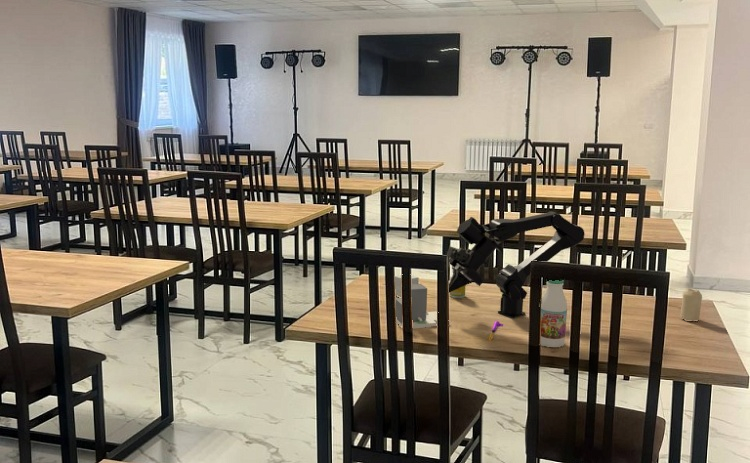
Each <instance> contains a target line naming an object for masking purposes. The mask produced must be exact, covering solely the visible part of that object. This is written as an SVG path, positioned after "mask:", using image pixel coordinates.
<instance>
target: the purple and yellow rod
mask: <svg viewBox="0 0 750 463" xmlns="http://www.w3.org/2000/svg"><path fill="white" fill-rule="evenodd" d="M503 326H504V324H502V323H500V321H497V320H496V321H494V324H493V326H492V329H491V333H490V334H489V336H488V341H490V342H491V341H492V339H493V337H494V336H495V335H494V334H495V333H496V330H497V327H503Z"/></svg>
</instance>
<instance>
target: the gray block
mask: <svg viewBox="0 0 750 463" xmlns="http://www.w3.org/2000/svg"><path fill="white" fill-rule="evenodd" d="M411 297H412V320H413V321H422V320H426V312H427V307H428V306H427V305H428V303H427V302H428V287H426V286H425V285H423V284H422V283H418V284H413V285H411Z"/></svg>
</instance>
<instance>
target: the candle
mask: <svg viewBox="0 0 750 463" xmlns="http://www.w3.org/2000/svg"><path fill="white" fill-rule="evenodd" d="M702 298H703V294H702V293H701V292H700V290H699V289H691V288H687V289H685V291H684V292H682V300H681V309H680V317H681V318H682V319H686V320H692V321H694V320H699V321H700V317H701V316H700V315H701V308H702V307H701V306H702V300H703V299H702ZM680 317H679V318H680ZM681 318H680V319H681Z"/></svg>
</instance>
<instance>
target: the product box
mask: <svg viewBox="0 0 750 463" xmlns="http://www.w3.org/2000/svg"><path fill="white" fill-rule="evenodd" d="M401 275H402V274H400V275H399V274H398V275H394V282H395V289H396V296H397V295H398V296H400V297H401ZM410 275H411V276H412V285H413V284H419V279H420V278H419V276H415V275H413V274H410Z"/></svg>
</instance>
